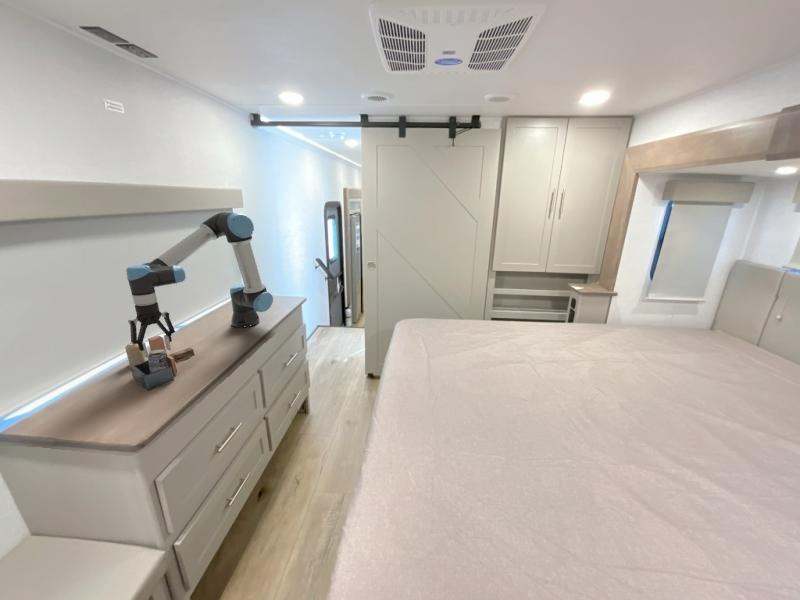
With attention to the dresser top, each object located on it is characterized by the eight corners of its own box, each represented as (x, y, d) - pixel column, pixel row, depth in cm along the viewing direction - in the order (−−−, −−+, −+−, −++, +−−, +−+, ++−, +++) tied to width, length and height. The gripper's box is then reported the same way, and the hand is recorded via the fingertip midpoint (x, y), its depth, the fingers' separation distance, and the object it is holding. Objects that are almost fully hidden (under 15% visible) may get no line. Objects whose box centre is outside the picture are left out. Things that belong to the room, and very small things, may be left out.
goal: (159, 369, 133) (156, 357, 131) (174, 380, 126) (171, 367, 124) (133, 379, 126) (129, 366, 124) (147, 390, 119) (144, 377, 117)
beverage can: (148, 383, 123) (142, 356, 119) (155, 374, 130) (149, 348, 126) (167, 381, 125) (161, 354, 121) (173, 372, 132) (167, 346, 128)
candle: (144, 359, 142) (138, 339, 139) (147, 363, 138) (142, 342, 135) (128, 363, 137) (122, 343, 134) (131, 367, 134) (126, 346, 131)
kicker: (164, 360, 139) (158, 335, 136) (181, 371, 131) (175, 344, 127) (154, 364, 136) (147, 338, 132) (170, 375, 128) (164, 348, 124)
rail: (191, 353, 148) (190, 347, 147) (194, 355, 146) (193, 349, 145) (151, 367, 135) (149, 360, 134) (154, 369, 133) (152, 363, 133)
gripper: (170, 295, 138) (180, 342, 145) (110, 307, 122) (124, 359, 129) (178, 298, 134) (187, 346, 141) (117, 311, 118) (131, 364, 125)
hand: (157, 352), depth 135 cm, fingers open, 8 cm apart
